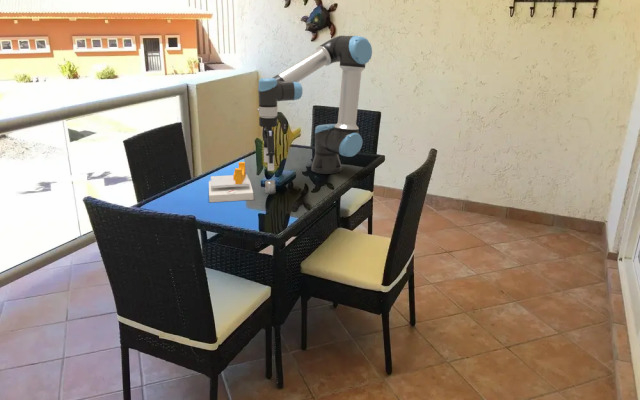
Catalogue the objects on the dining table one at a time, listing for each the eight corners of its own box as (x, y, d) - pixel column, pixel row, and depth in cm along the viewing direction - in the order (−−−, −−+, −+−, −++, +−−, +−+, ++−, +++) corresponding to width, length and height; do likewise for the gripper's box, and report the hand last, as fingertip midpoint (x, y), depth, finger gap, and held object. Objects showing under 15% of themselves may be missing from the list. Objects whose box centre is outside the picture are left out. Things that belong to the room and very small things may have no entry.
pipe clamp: (236, 176, 219) (235, 161, 217) (245, 176, 219) (245, 162, 217) (231, 184, 208) (230, 169, 206) (241, 184, 208) (240, 169, 206)
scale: (249, 185, 224) (249, 173, 223) (253, 199, 206) (253, 187, 204) (209, 187, 221) (208, 175, 219) (209, 202, 202) (208, 189, 201)
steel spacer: (274, 190, 217) (274, 179, 216) (276, 193, 213) (275, 182, 212) (264, 191, 217) (264, 180, 215) (265, 194, 213) (265, 183, 211)
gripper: (256, 112, 215) (257, 159, 222) (262, 122, 192) (263, 174, 199) (273, 111, 216) (274, 158, 223) (281, 121, 193) (281, 173, 200)
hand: (269, 166), depth 211 cm, fingers open, 13 cm apart
